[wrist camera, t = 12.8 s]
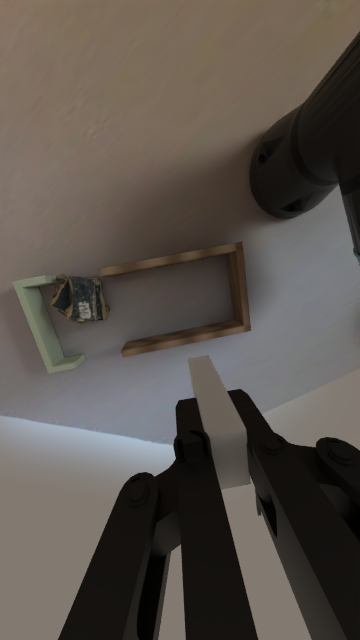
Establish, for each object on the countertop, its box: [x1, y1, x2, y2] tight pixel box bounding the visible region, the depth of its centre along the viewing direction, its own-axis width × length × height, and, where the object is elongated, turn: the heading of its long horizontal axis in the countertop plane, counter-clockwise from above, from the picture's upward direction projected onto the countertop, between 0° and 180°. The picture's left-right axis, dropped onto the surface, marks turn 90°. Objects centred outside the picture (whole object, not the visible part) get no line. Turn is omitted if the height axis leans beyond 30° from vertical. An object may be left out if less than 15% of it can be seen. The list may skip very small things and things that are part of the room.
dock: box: [12, 276, 85, 374], centre depth 34 cm, size 5×17×4 cm, turn 11°
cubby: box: [98, 242, 251, 357], centre depth 35 cm, size 24×16×5 cm, turn 101°
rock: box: [50, 274, 110, 324], centre depth 32 cm, size 9×9×6 cm
